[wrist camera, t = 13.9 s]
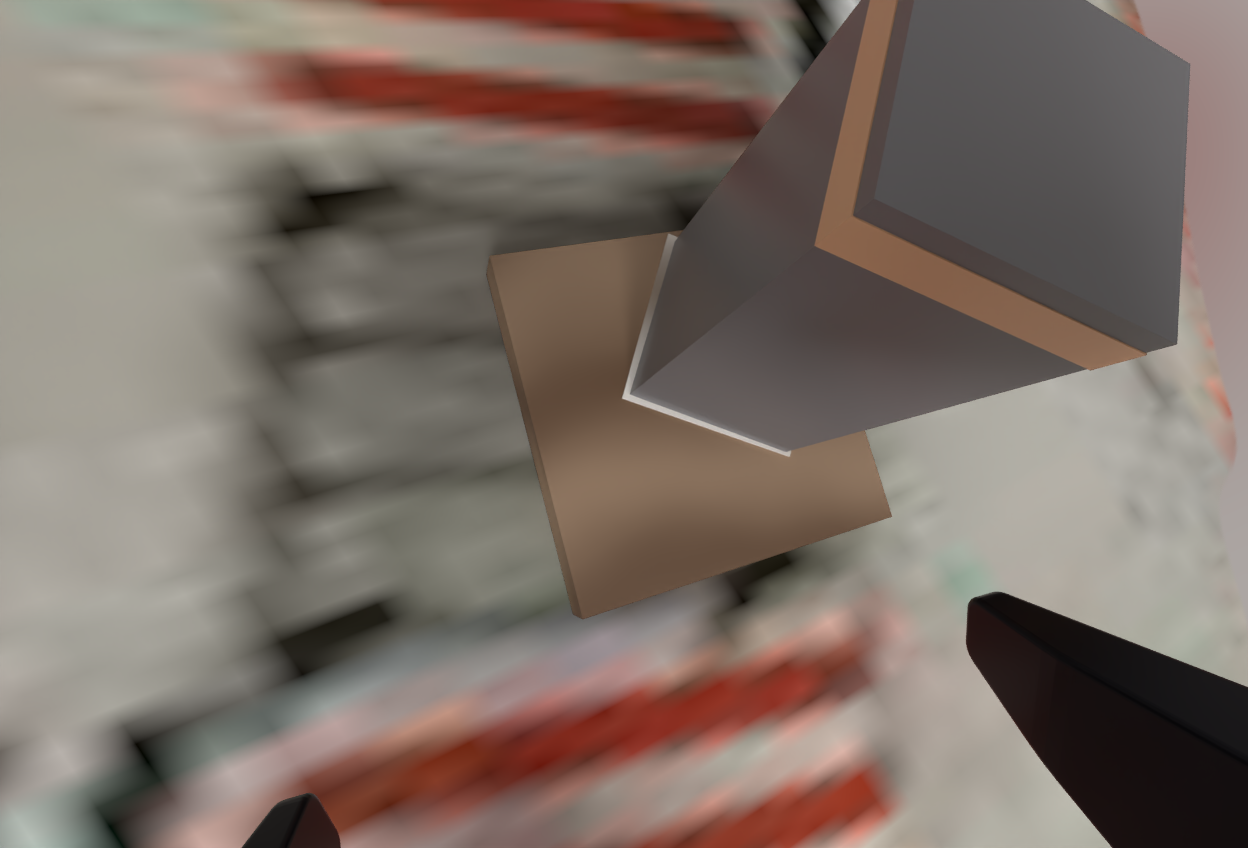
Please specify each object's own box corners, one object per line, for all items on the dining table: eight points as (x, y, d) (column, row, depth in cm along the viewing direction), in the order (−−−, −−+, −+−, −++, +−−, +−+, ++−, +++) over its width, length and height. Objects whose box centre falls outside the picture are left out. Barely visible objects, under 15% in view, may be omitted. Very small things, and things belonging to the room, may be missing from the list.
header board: (865, 518, 25) (945, 513, 21) (573, 614, 21) (603, 629, 17) (776, 232, 26) (836, 177, 22) (486, 274, 22) (496, 216, 18)
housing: (786, 452, 22) (1178, 346, 10) (628, 394, 21) (872, 199, 9) (819, 302, 24) (1191, 63, 12) (674, 240, 23) (931, -95, 11)
